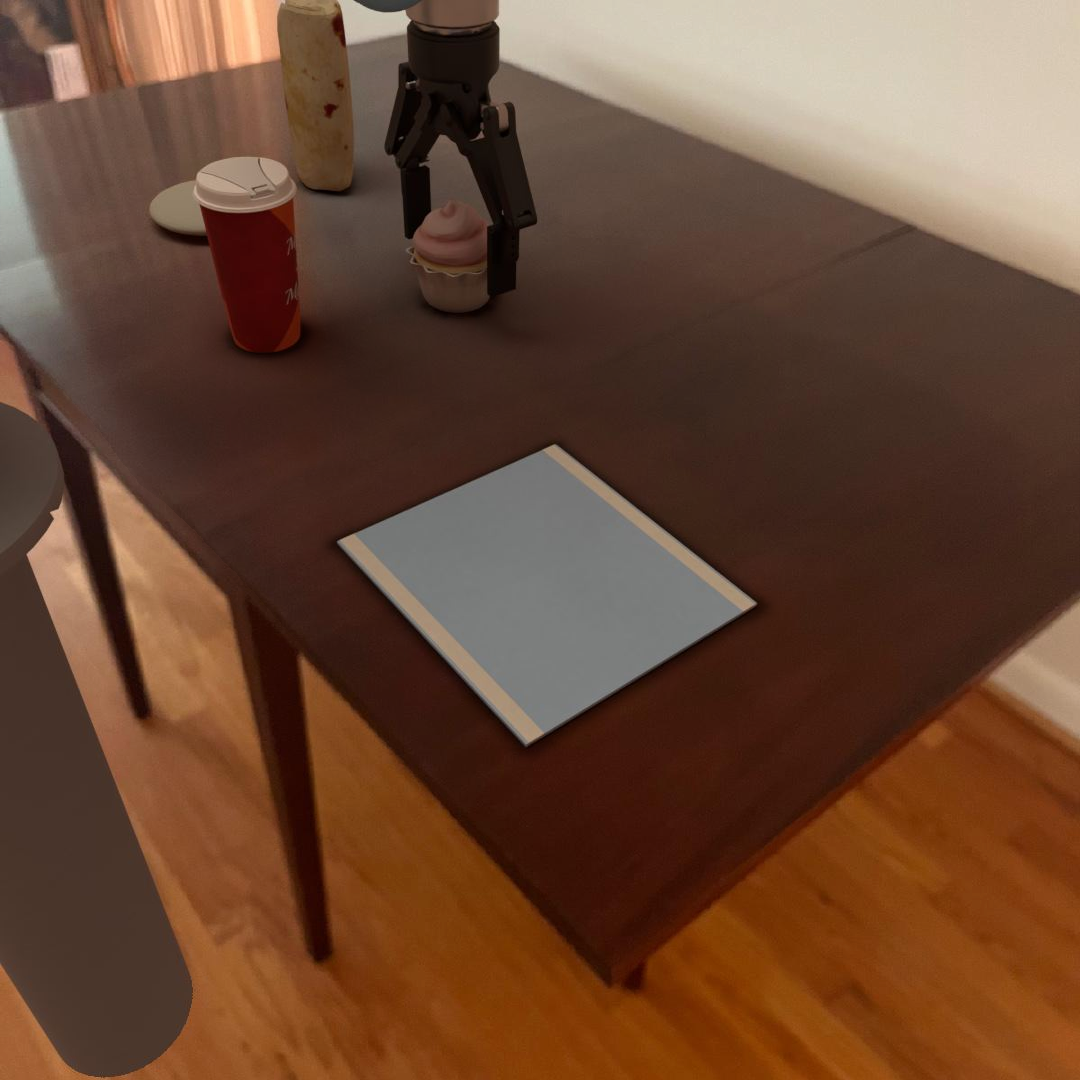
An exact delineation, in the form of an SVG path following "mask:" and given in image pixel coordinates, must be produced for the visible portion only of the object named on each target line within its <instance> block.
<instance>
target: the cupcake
mask: <svg viewBox="0 0 1080 1080" xmlns="http://www.w3.org/2000/svg"><path fill="white" fill-rule="evenodd" d="M487 226H490V224H489V223H488V222H487V221H486V220H485V219H483V218H482V217H481V216H480V214H479V213H478V212H477V210H476V209H475V208H474V207H473V206H471V205H469V204H468V203H465V202H462V201H461V200H460V201H459V200H457V199H450V200H448V202H447V203H446V206H445V207H438V208H436V209H433V210H431V212H430V213H429V214H428V215H427V216H426V217H425V220H424V221H423V223H422V225H421V226H420V227H419V228H418V229H417V230H416V232H415V234H414V236H413V239H412V246H409V247H408V248H406V249H404V250H405V252H406V255H407V256H408V257H409V259H410V260H409V264H410V265H411V267H412V268H413V270H414V272H415V274H416V275H417V278H418V282H419V286H420V289H421V290H420V291H421V294H422V297H423V298H424V300H425V301H426V303H427V304H428V305H429V306H430V307H432V308H434V309H436V310H438V311H442V312H446V313H456V314H457V313H461V314H462V313H469V312H472V311H473V312H474V311H476V310H479V309H480V308H482V307H483V306H485V305H486V304H487V303H488V301H489V300H490V298H491V297H490V296H489V295H488V294H487Z"/></svg>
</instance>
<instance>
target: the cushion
mask: <svg viewBox="0 0 1080 1080" xmlns="http://www.w3.org/2000/svg"><path fill="white" fill-rule="evenodd" d="M195 185H196V179H193V180H188V181H184V182H180V183H177V184H175V185H172V186H170V187H168V188H166V189H164V190H162V191H161V192H159V193H158V194H157V195H156V196H155V197H153V199H152V201H151V202H150V204H149V208H148V209H149V210H148V211H149V216H150V218H151V219H152V220H153V221H154V223H156V224H157V225H159V226H160V227H162V228H164V229H166V230H168V231H170V232H173V233H177V234H182V235H187V236H188V235H189V236H199V237H204V236H205V237H206V236H207V233H206V229H205V224H204V220H203V216H202V212H201V208H200V204H199V203H198V202H197V201H196V200H195V199H194V197H193V190H194V187H195Z"/></svg>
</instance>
